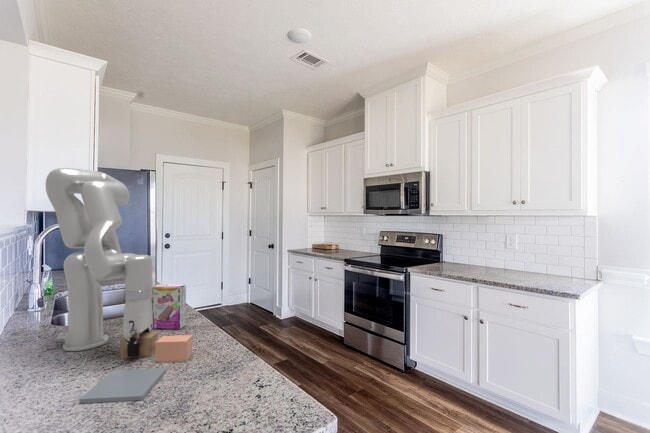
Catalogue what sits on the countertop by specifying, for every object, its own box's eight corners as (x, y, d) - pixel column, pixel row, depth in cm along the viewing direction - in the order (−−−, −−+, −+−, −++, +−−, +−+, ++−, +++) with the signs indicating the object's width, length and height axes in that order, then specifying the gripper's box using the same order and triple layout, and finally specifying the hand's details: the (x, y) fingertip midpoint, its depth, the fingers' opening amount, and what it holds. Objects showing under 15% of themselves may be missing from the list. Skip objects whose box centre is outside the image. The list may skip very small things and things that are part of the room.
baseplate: (79, 403, 76) (79, 399, 76) (113, 374, 90) (113, 370, 90) (142, 400, 77) (142, 395, 77) (166, 371, 91) (166, 368, 91)
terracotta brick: (155, 362, 97) (155, 342, 97) (162, 355, 102) (162, 336, 102) (186, 361, 98) (186, 341, 98) (192, 354, 103) (192, 335, 103)
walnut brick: (120, 358, 100) (120, 339, 100) (128, 351, 105) (128, 333, 105) (151, 356, 101) (151, 337, 101) (158, 350, 106) (157, 331, 106)
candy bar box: (152, 329, 125) (151, 286, 125) (159, 325, 130) (159, 283, 130) (179, 330, 124) (179, 287, 124) (186, 325, 129) (186, 284, 129)
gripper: (140, 288, 111) (140, 340, 111) (110, 302, 94) (111, 364, 94) (162, 288, 112) (163, 339, 112) (138, 301, 94) (139, 362, 95)
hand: (139, 350), depth 103 cm, fingers open, 7 cm apart
